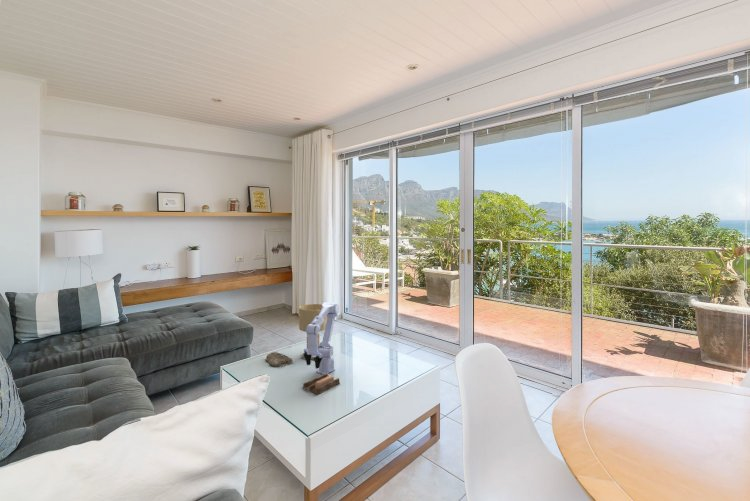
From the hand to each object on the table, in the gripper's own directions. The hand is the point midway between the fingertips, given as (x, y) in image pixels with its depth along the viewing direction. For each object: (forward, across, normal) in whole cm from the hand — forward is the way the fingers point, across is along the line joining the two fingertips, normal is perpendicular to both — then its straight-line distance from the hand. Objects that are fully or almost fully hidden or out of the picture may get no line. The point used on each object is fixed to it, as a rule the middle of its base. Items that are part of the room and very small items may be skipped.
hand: (313, 366), depth 209 cm
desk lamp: (+10, -31, +28) cm, 43 cm away
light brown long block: (+8, +11, -1) cm, 14 cm away
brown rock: (+10, -42, +6) cm, 44 cm away
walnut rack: (+9, +8, -1) cm, 12 cm away
